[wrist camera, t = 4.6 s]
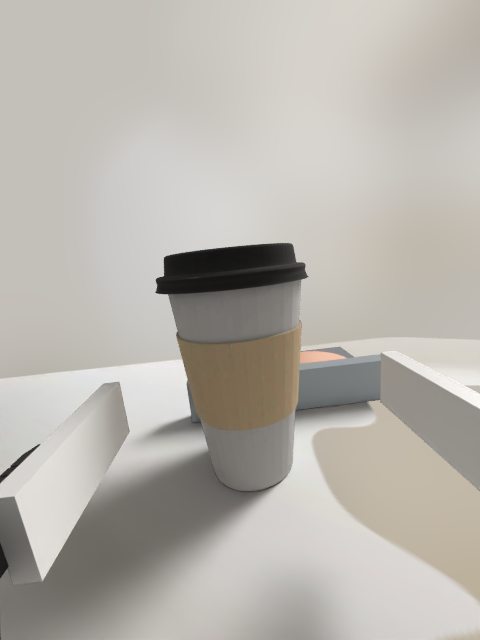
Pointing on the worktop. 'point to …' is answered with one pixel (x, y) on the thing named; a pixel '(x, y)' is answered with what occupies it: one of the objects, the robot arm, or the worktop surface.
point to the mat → (323, 355)
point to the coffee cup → (241, 354)
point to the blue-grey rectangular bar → (332, 383)
